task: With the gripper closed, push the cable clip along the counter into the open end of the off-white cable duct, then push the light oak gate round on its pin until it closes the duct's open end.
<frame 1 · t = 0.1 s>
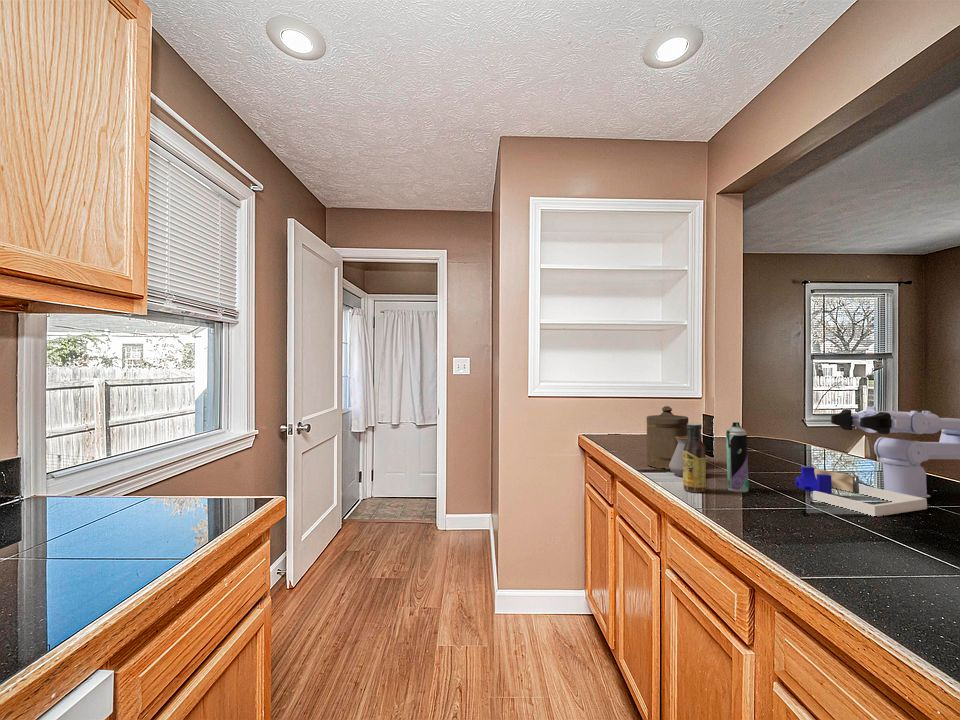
hand: (846, 420, 133), 22 cm above the counter, tool horizontal, fingers open, 7 cm apart
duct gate: (827, 478, 151), point 2 cm above the counter, hinge at 90.0°
duct: (865, 504, 132), on the counter
coffee pot: (690, 479, 166), on the counter
spray can: (738, 490, 149), on the counter
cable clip: (813, 492, 146), on the counter
sauce bottle: (695, 491, 149), on the counter
wooden container: (668, 466, 187), on the counter
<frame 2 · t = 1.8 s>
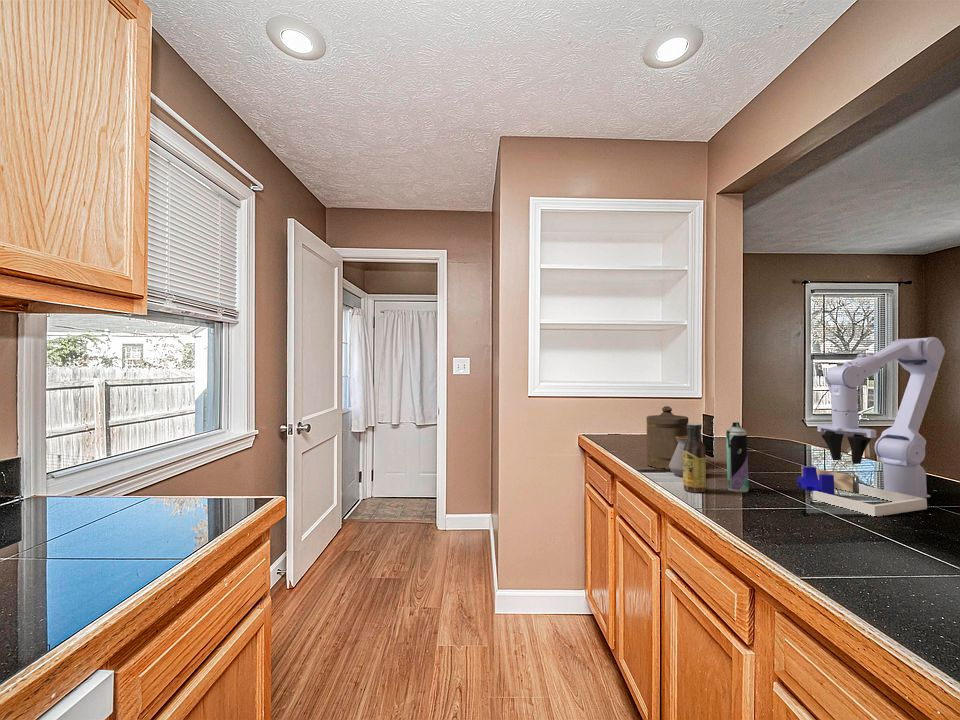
hand: (846, 461, 135), 10 cm above the counter, tool pointing down, fingers open, 5 cm apart
nothing on the counter moved.
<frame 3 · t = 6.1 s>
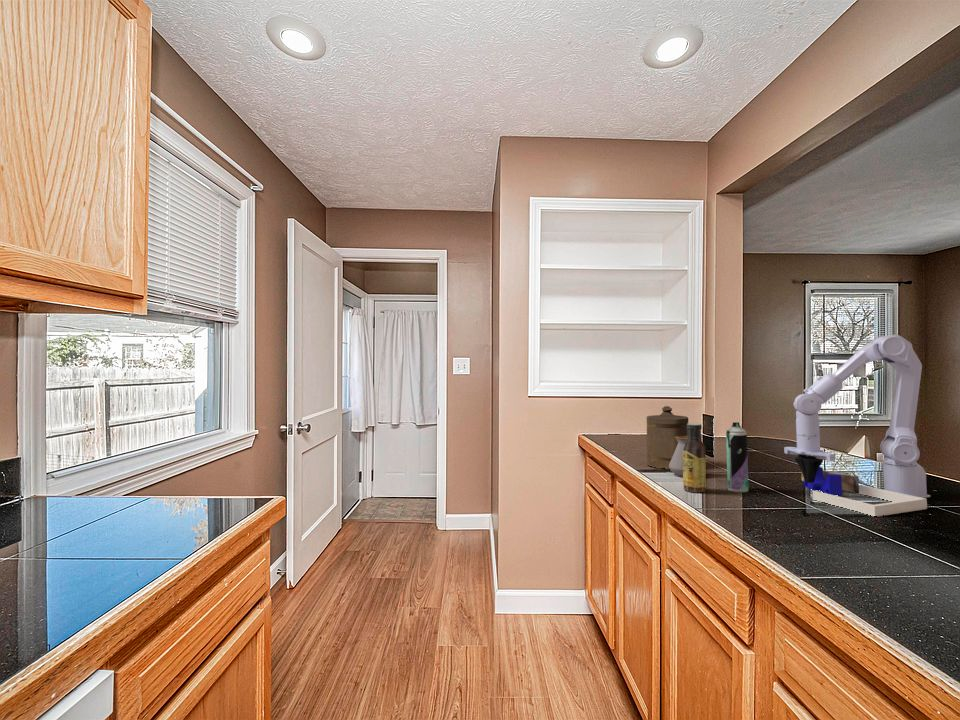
hand: (809, 482, 147), 2 cm above the counter, tool pointing down, fingers closed
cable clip: (822, 492, 146), on the counter, touching gripper
everything else where it was.
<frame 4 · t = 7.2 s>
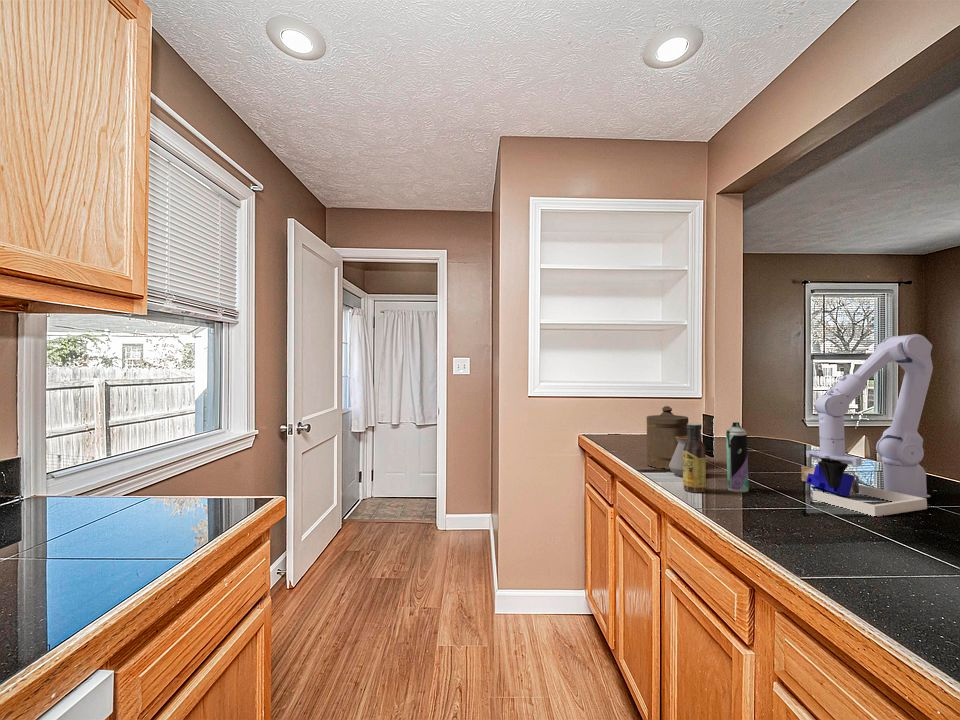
hand: (833, 487, 140), 2 cm above the counter, tool pointing down, fingers closed
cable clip: (826, 490, 145), on the counter
everything else where it was.
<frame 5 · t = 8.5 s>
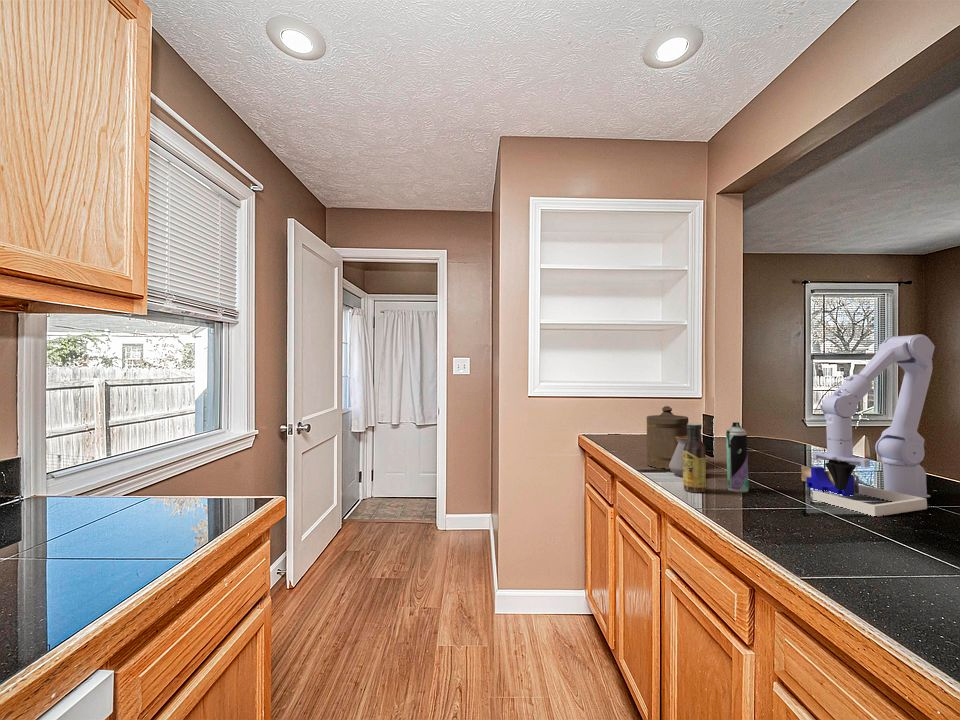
hand: (841, 489, 138), 2 cm above the counter, tool pointing down, fingers closed
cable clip: (829, 492, 145), on the counter
everything else where it was.
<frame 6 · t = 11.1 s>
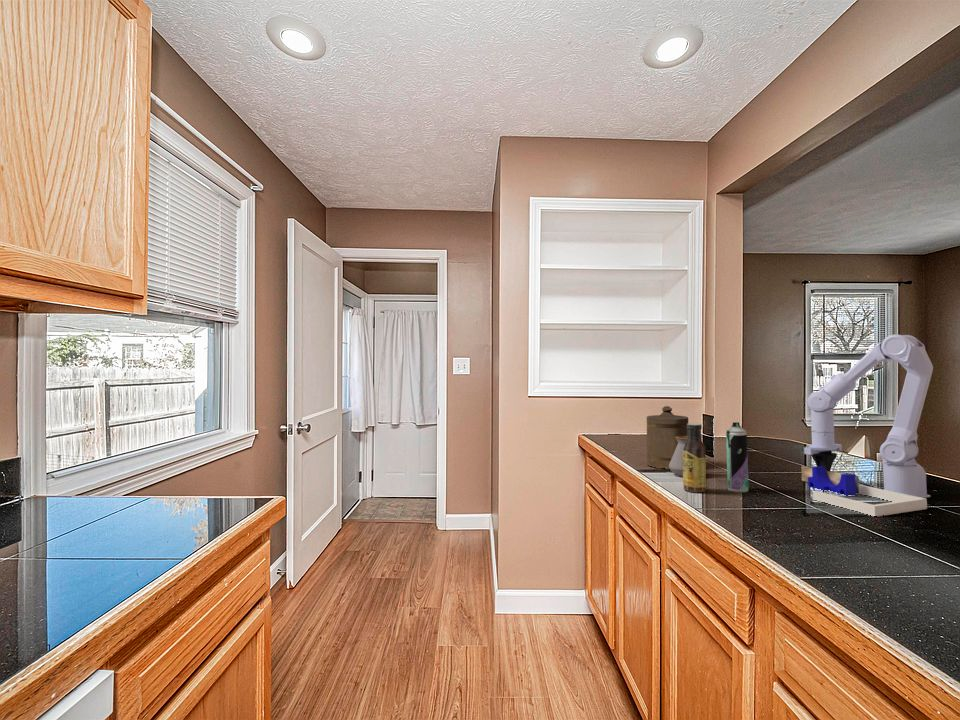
hand: (824, 476, 153), 2 cm above the counter, tool pointing down, fingers closed
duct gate: (827, 478, 151), point 2 cm above the counter, hinge at 90.1°, touching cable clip, gripper
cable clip: (831, 492, 145), on the counter, touching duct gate
everything else where it was.
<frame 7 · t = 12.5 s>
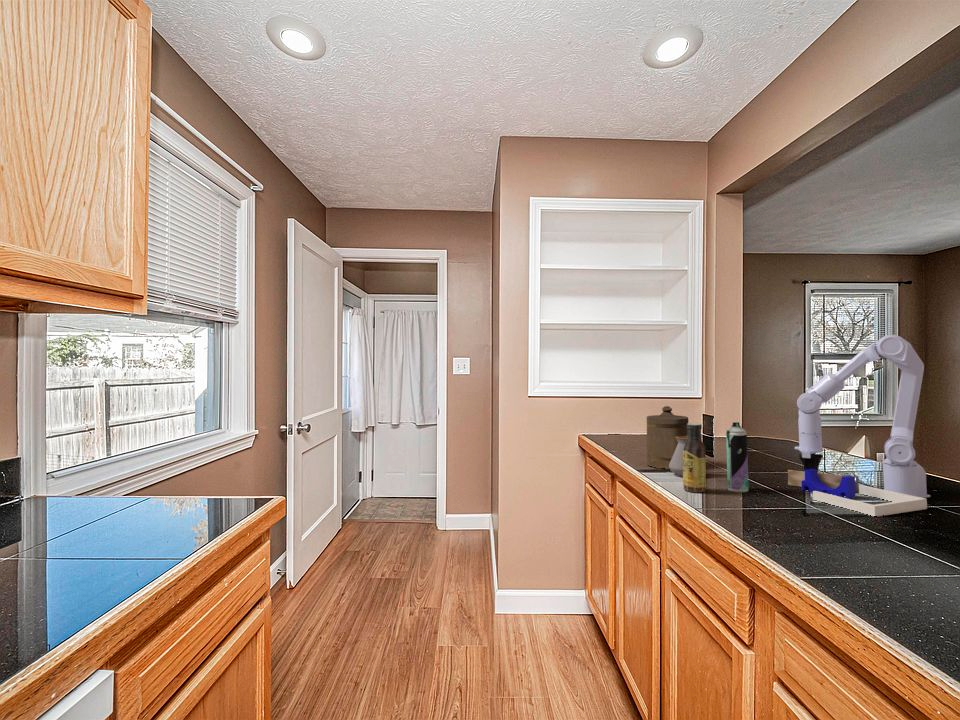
hand: (811, 478, 151), 2 cm above the counter, tool pointing down, fingers closed
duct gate: (819, 480, 148), point 2 cm above the counter, hinge at 59.2°, touching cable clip, gripper
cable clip: (827, 495, 142), on the counter, touching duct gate
everything else where it was.
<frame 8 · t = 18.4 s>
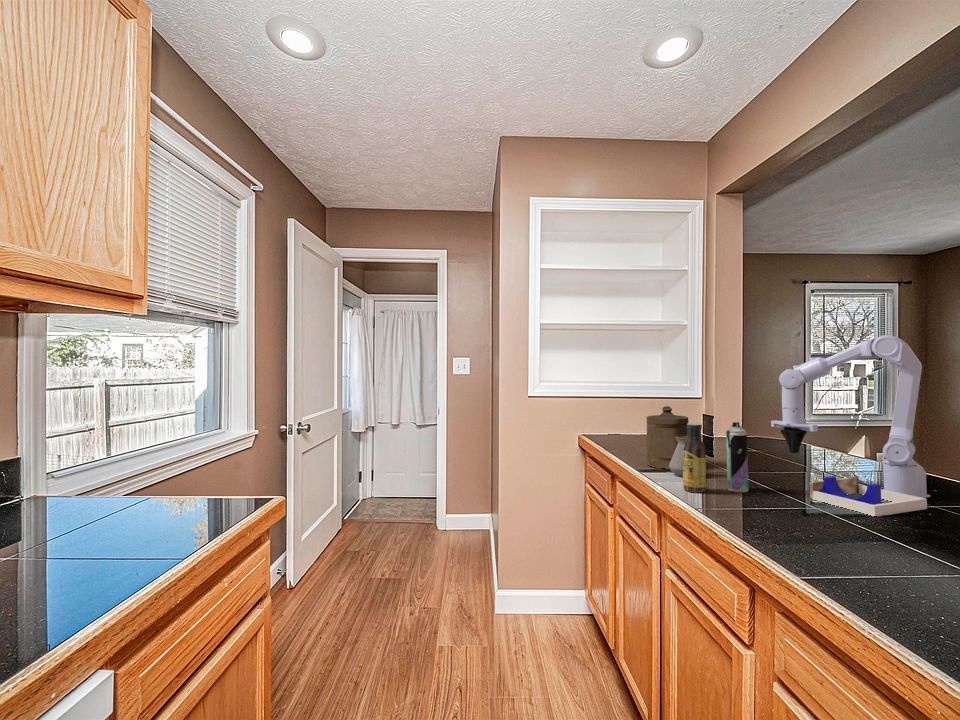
hand: (794, 452, 156), 9 cm above the counter, tool pointing down, fingers closed
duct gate: (833, 487, 140), point 2 cm above the counter, hinge at 0.1°
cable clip: (850, 505, 132), on the counter
everything else where it was.
at the end: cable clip inside the target area on the duct (3.5 cm from its centre), point 0.0 cm above the duct's base; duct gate at +0° (first picture: +90°) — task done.
